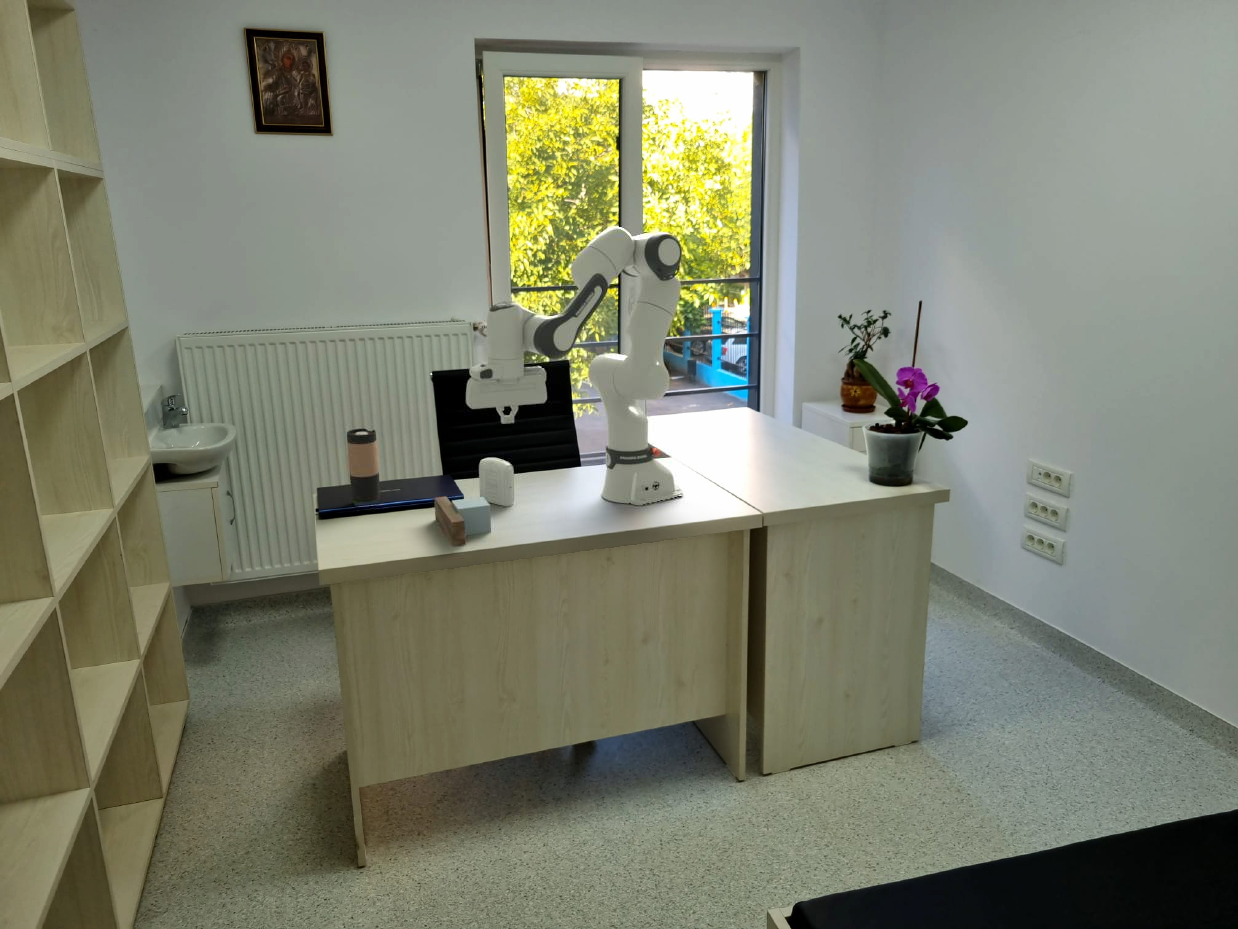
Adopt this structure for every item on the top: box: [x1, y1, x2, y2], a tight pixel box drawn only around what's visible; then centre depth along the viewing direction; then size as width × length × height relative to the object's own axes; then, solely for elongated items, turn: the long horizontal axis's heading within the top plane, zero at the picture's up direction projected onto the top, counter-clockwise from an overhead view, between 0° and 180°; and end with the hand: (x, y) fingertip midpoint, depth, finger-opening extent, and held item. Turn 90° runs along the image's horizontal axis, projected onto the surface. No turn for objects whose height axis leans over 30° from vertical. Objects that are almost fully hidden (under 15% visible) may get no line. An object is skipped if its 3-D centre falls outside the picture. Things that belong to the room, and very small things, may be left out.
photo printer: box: [478, 457, 515, 507], centre depth 254 cm, size 10×4×12 cm, turn 56°
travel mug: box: [346, 428, 381, 502], centre depth 251 cm, size 8×8×20 cm
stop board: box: [433, 496, 467, 547], centre depth 232 cm, size 3×20×6 cm, turn 23°
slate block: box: [451, 496, 492, 536], centre depth 234 cm, size 8×7×7 cm
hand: (507, 422), depth 237 cm, fingers closed
